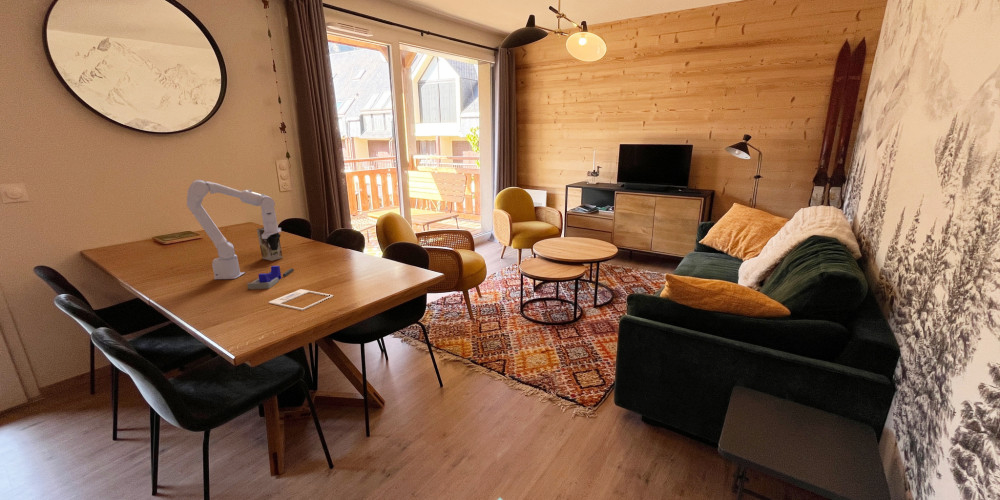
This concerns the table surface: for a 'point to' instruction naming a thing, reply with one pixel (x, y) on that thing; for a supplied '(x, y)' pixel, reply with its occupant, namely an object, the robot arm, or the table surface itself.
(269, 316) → the table surface
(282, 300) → the photo frame
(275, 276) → the cable clip
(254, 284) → the bracket
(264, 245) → the coffee box
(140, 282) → the table surface
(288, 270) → the guide channel
